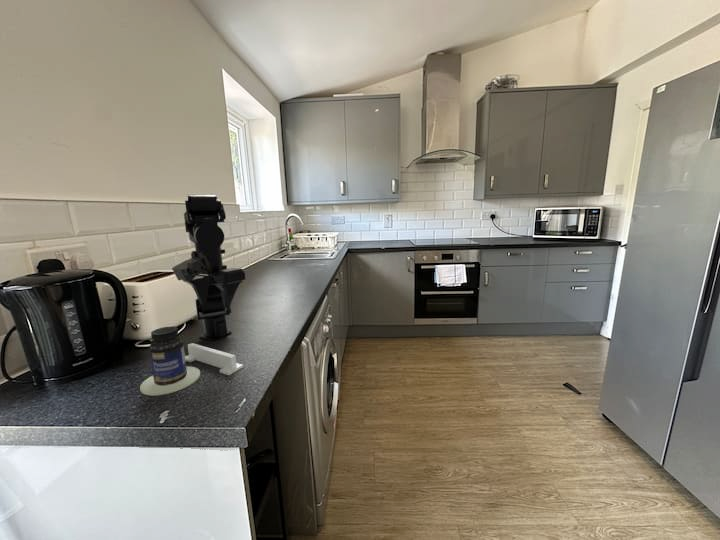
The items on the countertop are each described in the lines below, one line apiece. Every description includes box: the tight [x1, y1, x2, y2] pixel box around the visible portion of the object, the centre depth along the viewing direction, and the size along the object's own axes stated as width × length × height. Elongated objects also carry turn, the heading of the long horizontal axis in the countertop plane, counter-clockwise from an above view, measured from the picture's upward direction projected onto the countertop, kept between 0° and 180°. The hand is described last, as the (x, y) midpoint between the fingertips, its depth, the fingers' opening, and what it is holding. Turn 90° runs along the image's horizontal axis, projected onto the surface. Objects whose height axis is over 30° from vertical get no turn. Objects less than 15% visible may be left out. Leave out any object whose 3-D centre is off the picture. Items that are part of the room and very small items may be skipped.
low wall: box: [185, 342, 244, 376], centre depth 71 cm, size 17×4×4 cm, turn 62°
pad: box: [139, 365, 201, 397], centre depth 64 cm, size 11×11×1 cm
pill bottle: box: [148, 325, 187, 385], centre depth 63 cm, size 6×6×11 cm
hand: (215, 306), depth 77 cm, fingers open, 9 cm apart
